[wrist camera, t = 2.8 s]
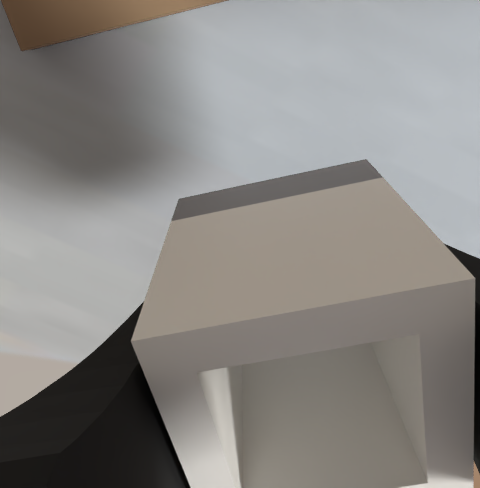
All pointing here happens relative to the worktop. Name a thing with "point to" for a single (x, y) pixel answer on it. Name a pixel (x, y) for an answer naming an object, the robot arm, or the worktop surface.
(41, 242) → the worktop surface
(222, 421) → the sleeve
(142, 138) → the worktop surface
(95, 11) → the pin board
